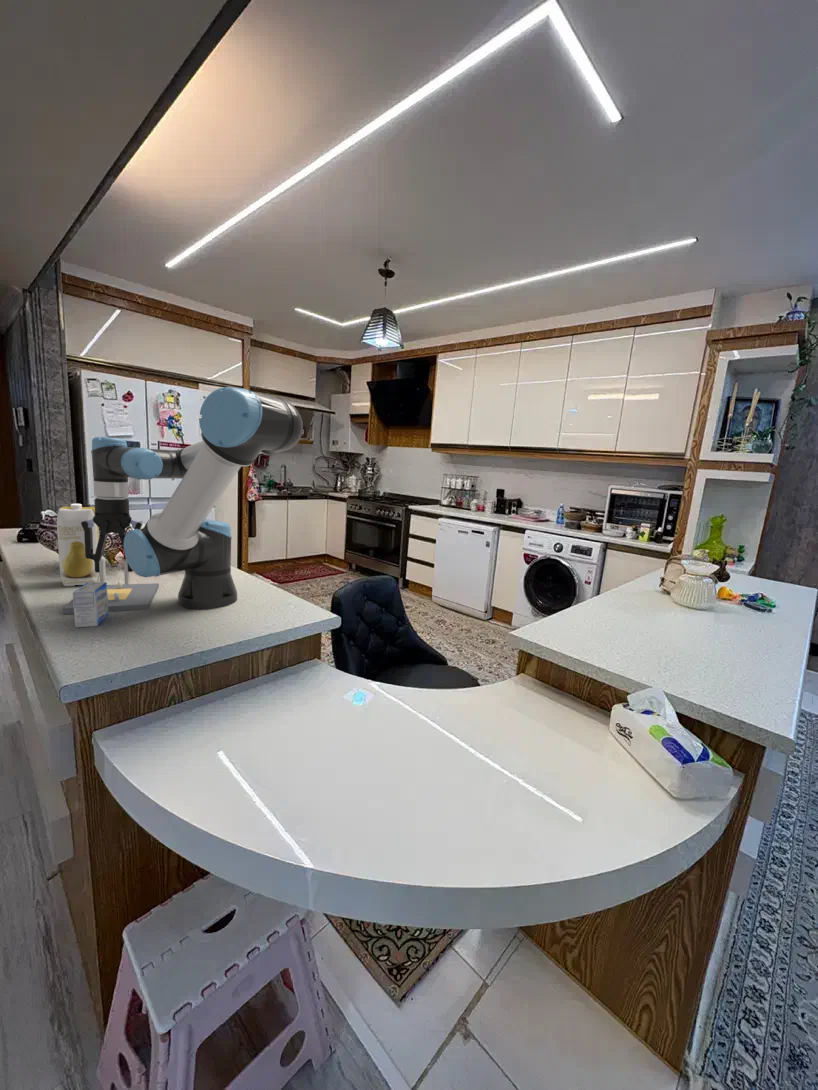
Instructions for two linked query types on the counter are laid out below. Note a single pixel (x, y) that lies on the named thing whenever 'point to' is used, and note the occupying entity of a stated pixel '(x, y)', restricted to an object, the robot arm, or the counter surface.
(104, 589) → the medicine box
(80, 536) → the juice carton
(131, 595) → the board
